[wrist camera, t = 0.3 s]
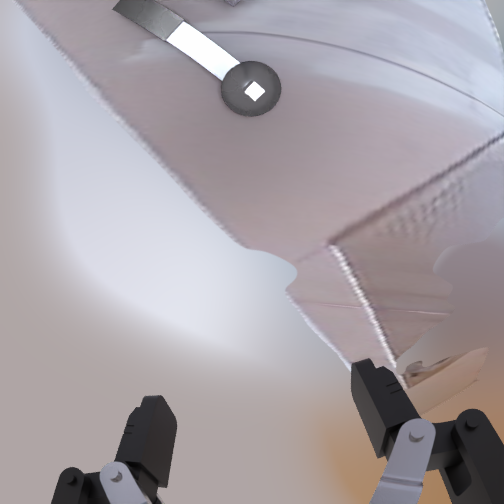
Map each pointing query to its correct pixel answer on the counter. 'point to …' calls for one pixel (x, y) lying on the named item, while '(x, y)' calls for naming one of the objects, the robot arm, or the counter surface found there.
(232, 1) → the hollow square tube
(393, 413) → the robot arm
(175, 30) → the ratchet
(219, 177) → the counter surface
